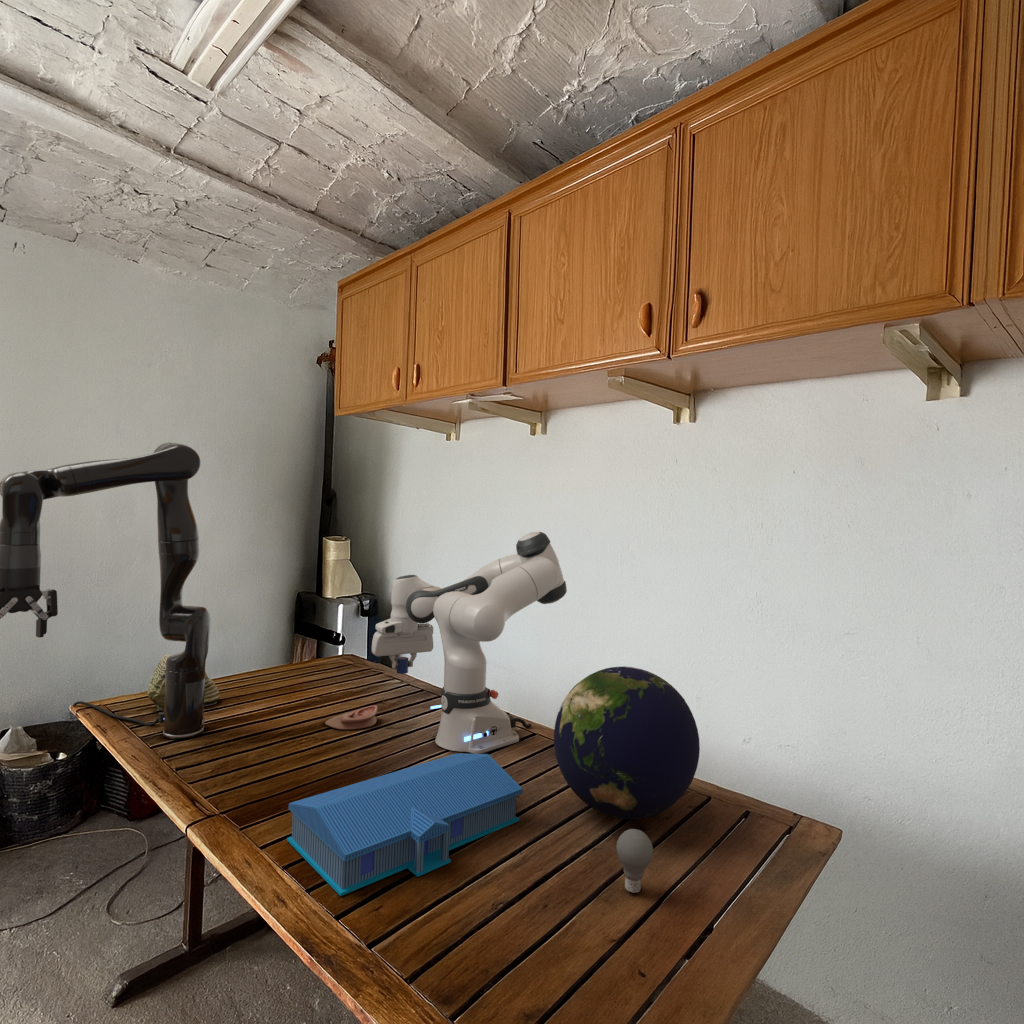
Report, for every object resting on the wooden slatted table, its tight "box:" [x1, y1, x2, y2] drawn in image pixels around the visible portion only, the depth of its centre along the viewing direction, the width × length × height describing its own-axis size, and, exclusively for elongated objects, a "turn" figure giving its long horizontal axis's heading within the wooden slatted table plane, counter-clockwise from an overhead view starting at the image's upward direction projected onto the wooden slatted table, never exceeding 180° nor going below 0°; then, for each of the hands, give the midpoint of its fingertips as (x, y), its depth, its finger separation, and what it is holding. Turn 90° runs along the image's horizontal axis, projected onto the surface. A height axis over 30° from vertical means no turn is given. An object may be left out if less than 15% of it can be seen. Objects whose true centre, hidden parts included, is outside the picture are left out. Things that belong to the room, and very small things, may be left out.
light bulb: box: [615, 828, 654, 894], centre depth 106 cm, size 6×6×10 cm
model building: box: [286, 752, 524, 897], centre depth 121 cm, size 39×24×10 cm, turn 132°
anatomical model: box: [324, 704, 378, 730], centre depth 177 cm, size 13×4×12 cm
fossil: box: [147, 654, 221, 712], centre depth 185 cm, size 9×18×15 cm, turn 132°
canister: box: [396, 656, 409, 675], centre depth 206 cm, size 4×4×5 cm
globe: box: [553, 665, 700, 820], centre depth 133 cm, size 30×30×30 cm
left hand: (16, 639), depth 137 cm, fingers open, 8 cm apart
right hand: (402, 667), depth 205 cm, fingers closed on canister, 4 cm apart
